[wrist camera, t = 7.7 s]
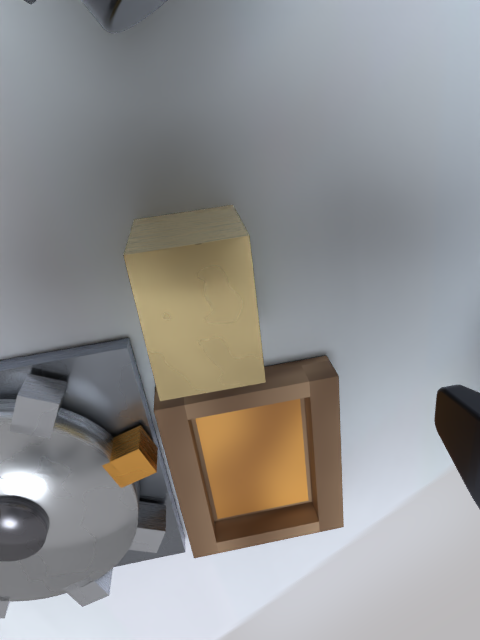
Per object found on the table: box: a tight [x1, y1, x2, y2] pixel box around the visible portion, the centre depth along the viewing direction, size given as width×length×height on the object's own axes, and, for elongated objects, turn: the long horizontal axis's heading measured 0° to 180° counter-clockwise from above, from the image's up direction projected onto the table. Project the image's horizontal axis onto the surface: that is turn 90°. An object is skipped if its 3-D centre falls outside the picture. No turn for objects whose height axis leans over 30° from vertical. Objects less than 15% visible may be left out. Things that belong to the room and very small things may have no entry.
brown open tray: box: [154, 356, 344, 558], centre depth 20 cm, size 7×9×2 cm
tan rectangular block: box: [123, 205, 266, 401], centre depth 15 cm, size 4×5×4 cm
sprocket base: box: [0, 338, 185, 567], centre depth 20 cm, size 12×12×1 cm
